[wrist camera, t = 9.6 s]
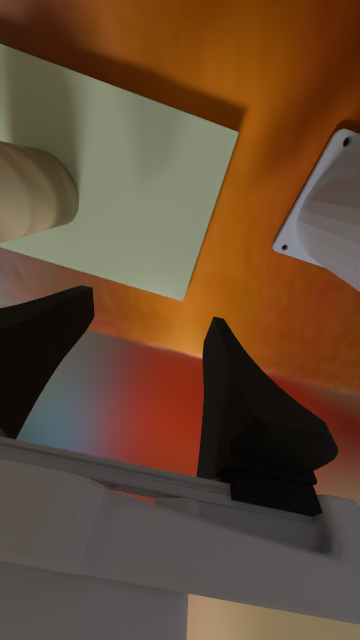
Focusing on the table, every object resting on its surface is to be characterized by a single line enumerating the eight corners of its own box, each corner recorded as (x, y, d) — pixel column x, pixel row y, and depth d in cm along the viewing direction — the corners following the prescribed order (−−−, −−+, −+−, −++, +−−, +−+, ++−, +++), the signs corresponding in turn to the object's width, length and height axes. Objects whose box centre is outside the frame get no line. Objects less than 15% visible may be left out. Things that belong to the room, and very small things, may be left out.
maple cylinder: (79, 164, 14) (12, 153, 9) (78, 234, 17) (27, 254, 12) (8, 136, 13) (-103, 109, 9) (20, 212, 16) (-58, 225, 11)
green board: (235, 136, 13) (238, 132, 12) (184, 294, 21) (182, 301, 20) (-99, 13, 12) (-134, -6, 11) (-24, 232, 19) (-40, 235, 18)
